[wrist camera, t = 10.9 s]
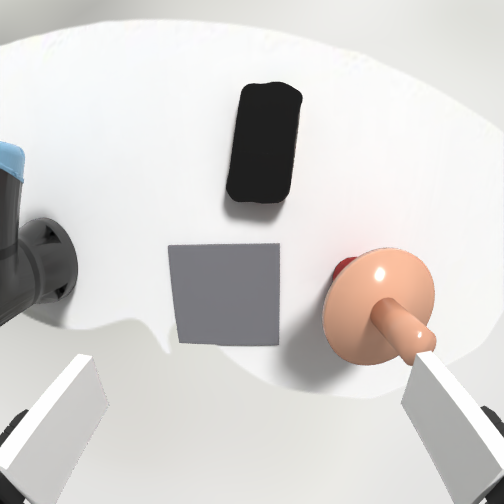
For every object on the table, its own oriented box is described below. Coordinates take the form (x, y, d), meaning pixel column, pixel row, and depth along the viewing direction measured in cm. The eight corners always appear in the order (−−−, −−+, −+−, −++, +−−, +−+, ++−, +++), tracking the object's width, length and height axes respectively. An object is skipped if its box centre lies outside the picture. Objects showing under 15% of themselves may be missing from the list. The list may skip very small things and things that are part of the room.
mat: (180, 340, 46) (179, 342, 46) (169, 245, 42) (167, 246, 42) (278, 342, 45) (278, 344, 45) (279, 243, 42) (279, 244, 41)
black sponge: (286, 204, 41) (288, 206, 37) (226, 196, 41) (222, 197, 37) (302, 93, 37) (305, 85, 33) (242, 85, 37) (240, 77, 33)
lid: (317, 366, 32) (338, 420, 23) (325, 249, 29) (359, 279, 20) (417, 350, 33) (453, 390, 24) (436, 245, 29) (488, 268, 20)
